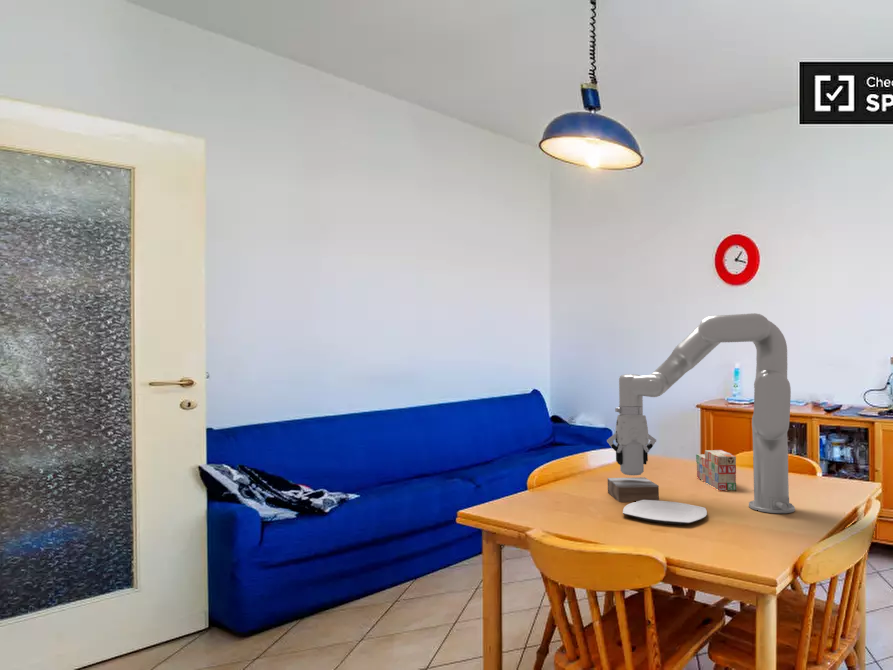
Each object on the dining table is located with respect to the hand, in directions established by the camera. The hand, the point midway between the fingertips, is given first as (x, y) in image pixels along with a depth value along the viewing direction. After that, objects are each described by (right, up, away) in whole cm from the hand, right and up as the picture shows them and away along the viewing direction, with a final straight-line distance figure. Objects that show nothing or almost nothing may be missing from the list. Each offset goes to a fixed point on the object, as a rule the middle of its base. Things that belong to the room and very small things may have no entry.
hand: (631, 463), depth 210 cm
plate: (+3, -11, -24) cm, 26 cm away
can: (0, -4, 0) cm, 4 cm away
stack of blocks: (+35, -11, +17) cm, 41 cm away
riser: (0, -11, 0) cm, 11 cm away
